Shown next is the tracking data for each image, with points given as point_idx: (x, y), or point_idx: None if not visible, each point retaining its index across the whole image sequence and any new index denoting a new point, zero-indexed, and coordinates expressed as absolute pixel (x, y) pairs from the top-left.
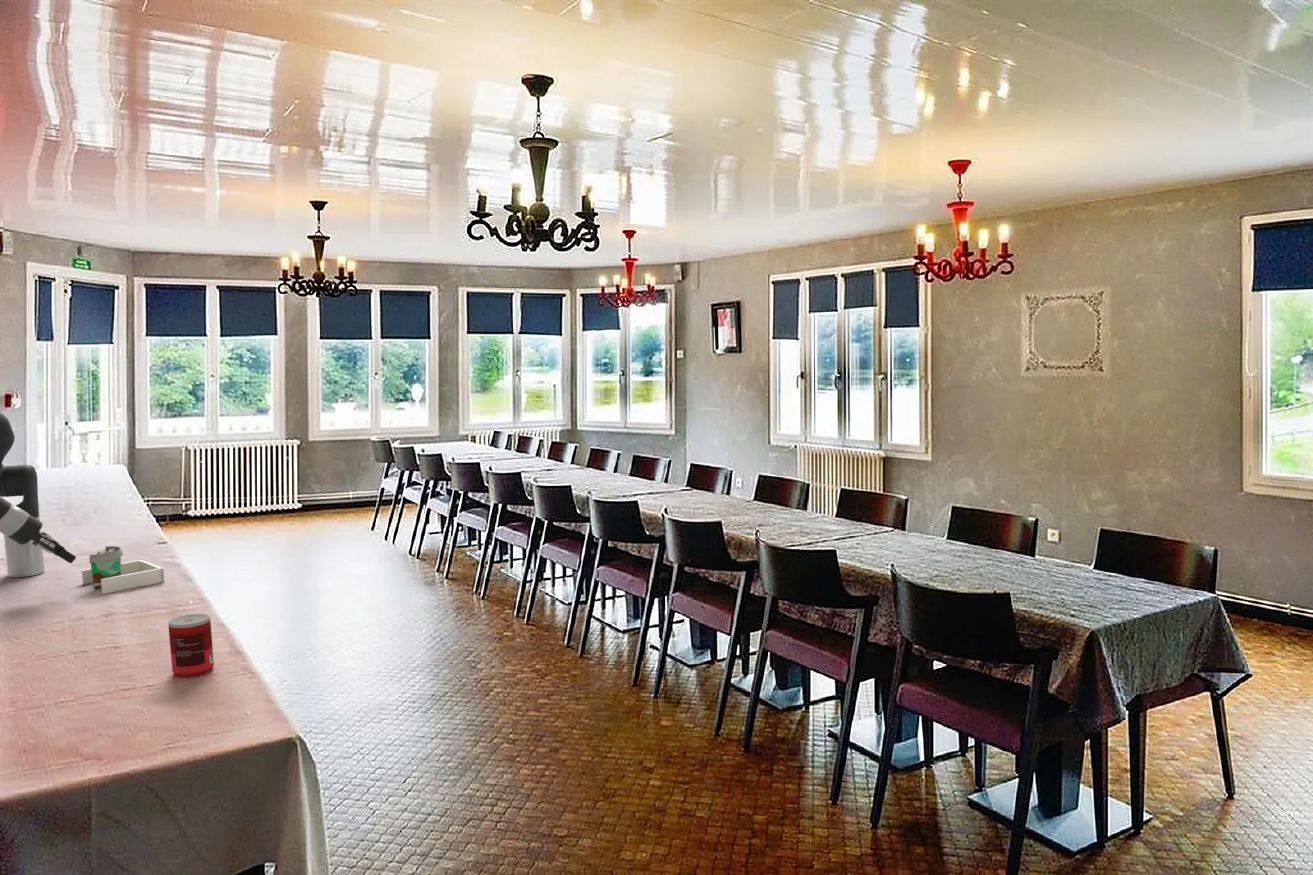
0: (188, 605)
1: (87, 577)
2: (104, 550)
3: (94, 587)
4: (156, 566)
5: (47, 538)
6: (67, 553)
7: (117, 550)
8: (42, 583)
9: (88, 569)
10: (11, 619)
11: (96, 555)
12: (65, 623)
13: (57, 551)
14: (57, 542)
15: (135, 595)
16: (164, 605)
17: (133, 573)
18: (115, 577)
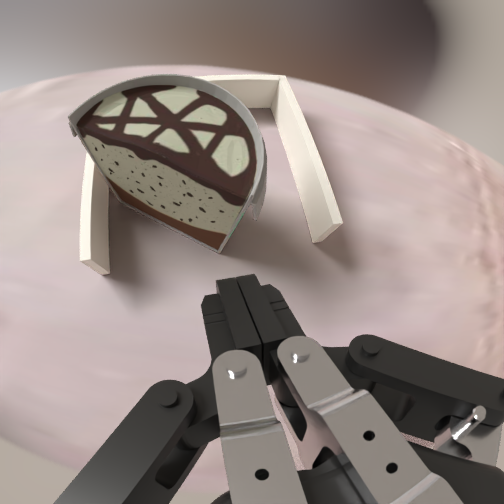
0: (469, 156)
1: (101, 252)
2: (92, 129)
3: (220, 251)
4: (245, 76)
5: (490, 467)
6: (298, 324)
7: (217, 87)
8: (9, 371)
9: (87, 235)
10: (429, 445)
11: (261, 168)
12: (498, 331)
13: (370, 392)
14: (373, 407)
15: (385, 183)
16: (465, 177)
17: (306, 132)
18: (328, 181)
